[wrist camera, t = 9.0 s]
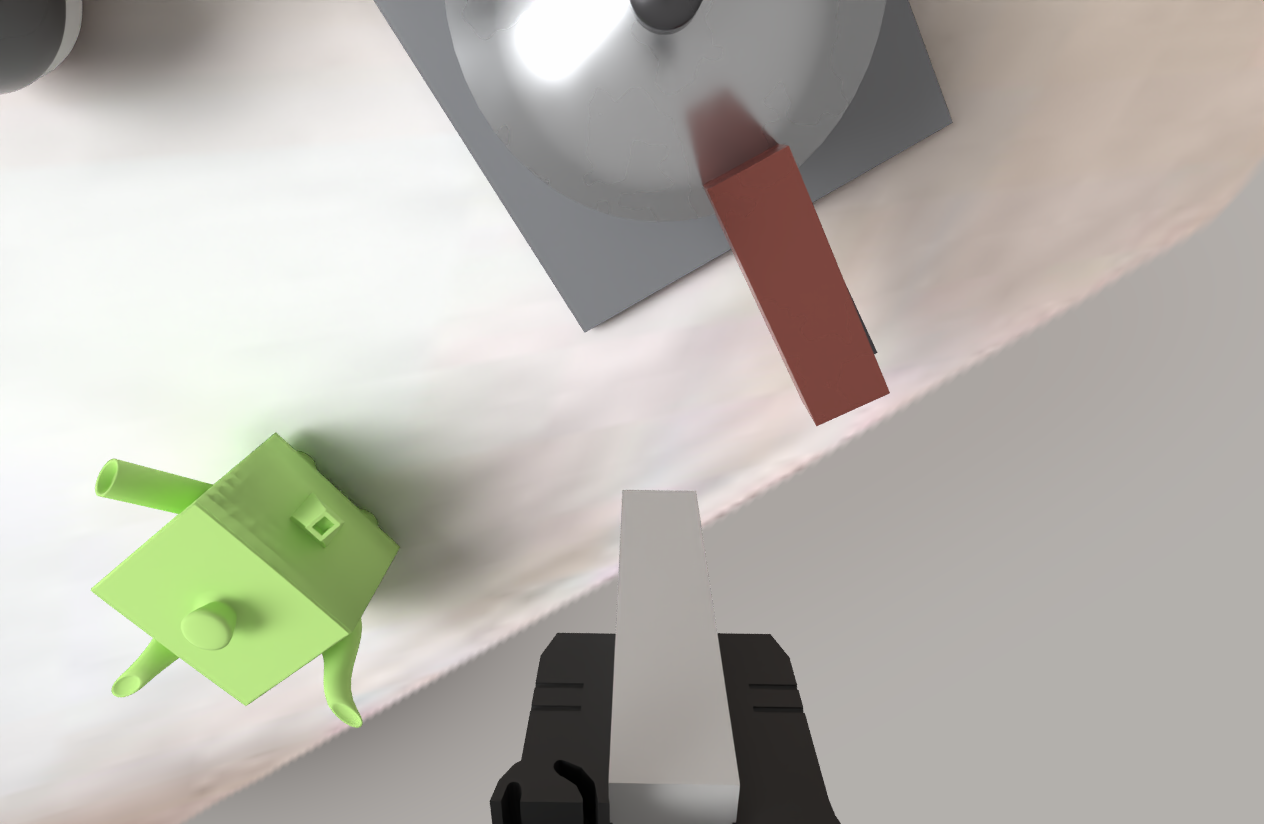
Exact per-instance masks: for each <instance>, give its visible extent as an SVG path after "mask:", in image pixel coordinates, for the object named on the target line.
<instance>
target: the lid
mask: <svg viewBox="0 0 1264 824" xmlns="http://www.w3.org/2000/svg"><path fill="white" fill-rule="evenodd" d="M885 5H886V0H445V6H446V14H447V20H448V24H449V29H450V33H451V37H452V41H453V46H454V50H455V53H456V55H457V58H458V61H459V64H460V67H461V69H462V72H463V75H464V78H465V80H466V82H467V84H468V87H469V89H470V91H471V93H472V95H473V97H474V99H475V101H476V103H477V105H478V107H479V109H480V110H481V112H482V113H483V115H484V116H485V118H486V119H487V121H488V123H489V124H490V126H491V127H492V129H493V130H494V132H495V133H496V134H497V136H498V137H499V138H500V139H501V141H502V142H503V143H504V144H505V145H506V147H507V148H508V149H509V150H510V151H511V153H512V154H513V155H514V156H515V157H516V158H517V159H518V160H519V161H520V162H521V163H522V164H523V165H525V166H526V167H527V168H528V169H529V170H530V171H531V172H532V173H533V174H534V175H535V176H537V177H538V178H540V179H541V180H542V181H544V182H545V183H546V184H548V185H549V186H550V187H552V188H553V189H555V190H556V191H558V192H559V193H561V194H563V195H565V196H567V197H569V198H570V199H572V200H574V201H576V202H578V203H579V204H582V205H585V206H587V207H590V208H592V209H595V210H597V211H600V212H602V213H606V214H610V215H614V216H618V217H622V218H626V219H633V220H642V221H652V222H662V221H683V220H689V219H695V218H701V217H706V216H709V215H713V214H715V215H716V217H717V220H718V222H719V224H720V226H721V228H722V230H723V232H724V235H725V237H726V239H727V241H728V243H729V245H730V247H731V250H732V252H733V254H734V256H735V258H736V260H737V263H738V265H739V267H740V269H741V271H742V273H743V275H744V278H745V280H746V282H747V284H748V286H749V288H750V290H751V293H752V295H753V297H754V299H755V301H756V303H757V305H758V308H759V310H760V312H761V314H762V316H763V318H764V320H765V323H766V325H767V327H768V329H769V331H770V333H771V335H772V338H773V340H774V342H775V344H776V346H777V348H778V351H779V353H780V355H781V357H782V359H783V361H784V363H785V366H786V368H787V370H788V372H789V374H790V376H791V378H792V381H793V383H794V385H795V387H796V389H797V391H798V393H799V396H800V398H801V400H802V402H803V404H804V405H805V407H806V409H807V410H808V412H809V414H810V416H811V417H812V419H813V421H814V423H815V424H816V426H818V425H820V424H823V423H825V422H827V421H829V420H832V419H834V418H836V417H838V416H840V415H843V414H845V413H847V412H849V411H852V410H854V409H856V408H858V407H860V406H863V405H865V404H867V403H869V402H872V401H874V400H876V399H878V398H880V397H883V396H885V395H887V394H889V393H890V392H889V390H888V387H887V385H886V382H885V380H884V378H883V375H882V373H881V370H880V368H879V365H878V363H877V360H876V358H875V355H874V353H873V351H872V348H871V346H870V343H869V341H868V338H867V336H866V333H865V331H864V328H863V326H862V324H861V321H860V319H859V316H858V314H857V311H856V309H855V306H854V304H853V301H852V299H851V297H850V294H849V292H848V289H847V287H846V284H845V282H844V279H843V277H842V275H841V272H840V270H839V267H838V265H837V262H836V260H835V257H834V255H833V252H832V250H831V248H830V245H829V243H828V240H827V238H826V235H825V233H824V230H823V228H822V225H821V223H820V221H819V218H818V216H817V213H816V211H815V208H814V206H813V203H812V201H811V198H810V196H809V194H808V191H807V189H806V186H805V184H804V181H803V179H802V176H801V174H800V171H799V169H798V167H799V166H801V165H802V164H803V163H804V161H805V160H806V159H807V158H808V157H809V156H810V155H811V154H812V153H813V152H814V151H815V150H816V149H817V148H818V147H819V146H820V145H821V144H822V143H823V141H824V140H825V139H826V137H827V136H828V135H829V134H830V132H831V131H832V130H833V128H834V127H835V126H836V125H837V123H838V122H839V120H840V119H841V117H842V116H843V114H844V112H845V111H846V109H847V107H848V106H849V104H850V102H851V101H852V99H853V97H854V96H855V94H856V92H857V90H858V87H859V85H860V83H861V81H862V79H863V77H864V75H865V72H866V70H867V68H868V66H869V63H870V60H871V57H872V54H873V51H874V48H875V45H876V42H877V39H878V36H879V32H880V28H881V23H882V18H883V14H884V9H885Z"/></svg>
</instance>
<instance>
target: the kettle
mask: <svg viewBox="0 0 1264 824" xmlns="http://www.w3.org/2000/svg"><path fill="white" fill-rule="evenodd" d="M95 492H96V495H97V496H100V497H105V498H110V499H114V500H119V501H123V502H128V503H132V504H137V505H141V506H146V507H150V508H154V509H159V510H163V511H168V512H172V513H177V514H178V515H177V516H176V517H175V518H173V519H172V520H171V521H170V522H169V523H167V524H166V525H165V526H164V527H163V528H162V529H160V530H159V531H158V532H157V533H156V534H155V535H153V536H152V537H151V538H150V539H149V540H148V541H146V542H145V543H144V544H143V545H142V546H141V547H139V548H138V549H137V550H136V551H135V552H134V553H132V554H131V555H130V556H129V557H128V558H126V559H125V560H124V561H123V562H122V563H121V564H119V565H118V566H117V567H116V568H115V569H114V570H112V571H111V572H110V573H109V574H108V575H107V576H105V577H104V578H103V579H102V580H101V581H100V582H98V583H97V584H96V585H95V586H94V587H93V588H91V591H92V592H93V593H94V594H96V595H97V596H98V597H100V598H101V599H102V600H103V601H105V602H106V603H107V604H109V605H110V606H111V607H113V608H114V609H115V610H117V611H118V612H119V613H121V614H122V615H123V616H125V617H126V618H127V619H129V620H130V621H131V622H133V623H134V624H135V625H137V626H138V627H139V628H141V629H142V630H143V631H145V632H146V633H147V634H149V635H150V636H151V637H153V639H152V641H151V642H150V643H149V645H148V646H147V648H146V649H145V650H144V651H143V653H142V654H141V655H140V656H139V658H138V659H137V660H136V661H135V662H134V663H133V664H132V665H131V666H130V667H129V668H128V669H127V670H126V671H125V672H124V673H123V674H122V675H121V676H120V677H119V678H118V679H117V680H116V681H115V683H114V684H113V686H112V694H113V695H114V696H117V697H126V696H129V695H131V694H133V693H135V692H137V691H138V690H140V689H141V688H142V687H143V686H145V685H146V684H147V683H148V682H149V681H150V680H151V679H153V678H154V677H155V676H156V675H157V674H159V673H160V672H161V671H162V670H164V669H165V668H166V667H168V666H169V665H170V664H171V663H173V662H174V661H176V660H177V659H178V658H181V659H182V660H183V661H185V662H186V663H188V664H189V665H190V666H192V667H193V668H194V669H196V670H197V671H198V672H200V673H201V674H202V675H204V676H205V677H206V678H208V679H209V680H211V681H212V682H213V683H215V684H216V685H217V686H219V687H220V688H221V689H223V690H224V691H226V692H227V693H228V694H230V695H231V696H232V697H234V698H235V699H237V700H238V701H239V702H241V703H242V704H244V705H245V706H246V705H248V704H250V703H251V702H253V701H254V700H255V699H257V698H258V697H260V696H261V695H263V694H264V693H266V692H267V691H268V690H270V689H271V688H273V687H274V686H276V685H277V684H279V683H280V682H281V681H283V680H284V679H286V678H287V677H289V676H290V675H291V674H293V673H294V672H296V671H297V670H299V669H300V668H302V667H303V666H304V665H306V664H307V663H309V662H310V661H312V660H313V659H315V658H316V657H317V656H319V655H320V654H322V655H323V659H324V692H325V697H326V700H327V703H328V705H329V707H330V709H331V710H332V712H333V713H334V714H335V715H336V716H337V717H338V718H339V719H340V720H342V721H343V722H344V723H346V724H348V725H350V726H352V727H357V728H358V727H361V726H362V718H361V716H360V714H359V712H358V710H357V708H356V705H355V703H354V701H353V698H352V692H351V676H352V671H353V666H354V662H355V659H356V655H357V652H358V648H359V644H360V640H361V632H362V622H361V616H362V614H363V613H364V611H365V609H366V607H367V605H368V604H369V602H370V600H371V598H372V597H373V595H374V593H375V591H376V589H377V588H378V586H379V584H380V582H381V581H382V579H383V577H384V575H385V573H386V572H387V570H388V568H389V566H390V564H391V563H392V561H393V559H394V557H395V556H396V554H397V552H398V550H399V548H400V546H399V545H397V544H396V543H395V542H394V541H393V540H392V539H391V538H390V537H389V536H388V535H387V534H386V533H385V532H383V531H382V530H381V529H380V528H379V527H378V522H377V519H376V518H375V516H374V515H373V514H372V513H370V512H368V511H366V510H363V509H359V508H358V507H356V506H355V505H354V504H353V503H352V502H351V501H350V500H349V499H348V498H347V497H346V496H344V495H343V494H342V493H341V492H340V491H339V490H338V489H337V488H336V487H335V486H334V485H333V484H331V483H330V482H329V481H328V480H327V479H326V478H325V477H324V476H323V475H322V474H321V473H320V472H318V471H317V467H316V464H315V462H314V460H313V459H312V458H311V457H310V456H309V455H307V454H306V453H303V452H300V451H296V450H294V449H293V448H292V447H291V446H290V445H289V444H288V443H287V442H286V441H285V440H284V439H282V438H281V437H280V436H279V435H278V434H277V433H274V434H273V435H272V436H271V437H270V438H268V439H267V440H266V441H265V442H264V443H262V444H261V445H260V446H259V447H258V448H256V449H255V450H254V451H253V452H252V453H251V454H249V455H248V456H247V457H246V458H245V459H243V460H242V461H241V462H240V463H239V464H237V465H236V466H235V467H234V468H233V469H231V470H230V471H229V472H228V473H227V474H226V475H224V476H223V477H222V478H221V479H220V480H218V481H217V482H216V483H215V484H214V485H212V484H208V483H204V482H201V481H197V480H193V479H189V478H186V477H182V476H178V475H174V474H170V473H167V472H163V471H159V470H155V469H151V468H148V467H144V466H140V465H136V464H132V463H129V462H125V461H121V460H117V459H111V460H109V461H108V462H107V463H106V464H105V465H104V467H103V468H102V470H101V471H100V473H99V476H98V478H97V481H96V486H95Z"/></svg>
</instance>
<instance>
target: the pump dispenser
mask: <svg viewBox="0 0 1264 824" xmlns="http://www.w3.org/2000/svg"><path fill="white" fill-rule="evenodd" d="M81 22H82V0H0V95H1V94H7V93H11V92H15V91H17V90H20V89H22V88H24V87H26V86H28V85H30V84H32V83H33V82H34V81H36V80H37V79H38V78H40V77H42V76H44V75H46V74H47V73H49V72H51V71H52V70H54V69H55V68H56V67H57V66H58V65H59V64H61V63H62V62H63V60H64V59H65V58H66V57H67V56H68V55H69V53H70V52H71V50H72V48H73V46H74V44H75V42H76V40H77V38H78V35H79V32H80V27H81Z"/></svg>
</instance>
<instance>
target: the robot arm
mask: <svg viewBox="0 0 1264 824" xmlns="http://www.w3.org/2000/svg"><path fill="white" fill-rule="evenodd" d="M490 807H491V816H492V824H841V823H840V822H839V820H838V819H837V817H836V816H835V814H834V811H833V809H832V807H831V804H830V802H829V799H828V795H827V792H826V788H825V785H824V781H823V777H822V774H821V771H820V766H819V763H818V759H817V755H816V752H815V748H814V745H813V741H812V737H811V734H810V730H809V727H808V723H807V719H806V716H805V713H803V705H802V701H801V698H800V694H799V690H797V683H796V680H795V676H794V672H793V669H792V665H791V662H790V658H789V656H788V655H787V654H786V653H785V652H784V650H783V649H782V648H781V647H780V645H779V644H778V643H777V642H776V640H775V639H774V638H773V637H772V636H771V634H720V633H717V628H716V622H715V615H714V608H713V601H712V594H711V588H710V581H709V574H708V568H707V561H706V555H705V548H704V541H703V534H702V528H701V521H700V514H699V508H698V501H697V494H696V491H655V490H623V492H622V513H621V534H620V555H619V576H618V596H617V618H616V634H595V633H594V634H593V633H557V634H556V636H555V637H554V638H553V640H552V641H551V643H550V644H549V645H548V646H547V648H546V649H545V651H544V652H543V653H542V655H541V658H540V662H539V668H538V673H537V679H536V687H535V690H534V694H533V700H532V708H531V711H530V716H529V721H528V727H527V732H526V738H525V743H524V748H523V754H522V759H521V761H519V762H517V763H516V764H514V765H513V766H512V767H511V768H510V769H509V770H508V771H507V772H506V774H504V775H503V777H502V778H501V779H500V780H499V781H498V783H497V786H496V788H495V790H494V793H493V795H492V797H491V800H490Z"/></svg>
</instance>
